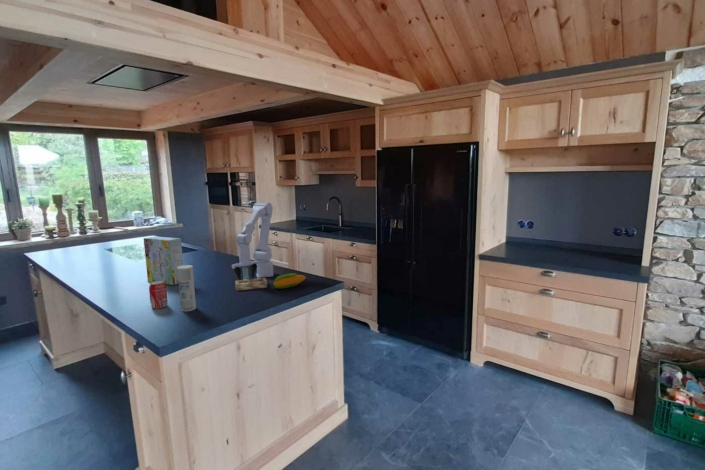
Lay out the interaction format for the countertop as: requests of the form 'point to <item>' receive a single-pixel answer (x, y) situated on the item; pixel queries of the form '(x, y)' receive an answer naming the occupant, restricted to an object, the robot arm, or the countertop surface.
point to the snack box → (163, 259)
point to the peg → (245, 273)
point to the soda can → (158, 294)
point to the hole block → (250, 284)
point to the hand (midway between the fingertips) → (246, 278)
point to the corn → (288, 280)
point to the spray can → (186, 287)
